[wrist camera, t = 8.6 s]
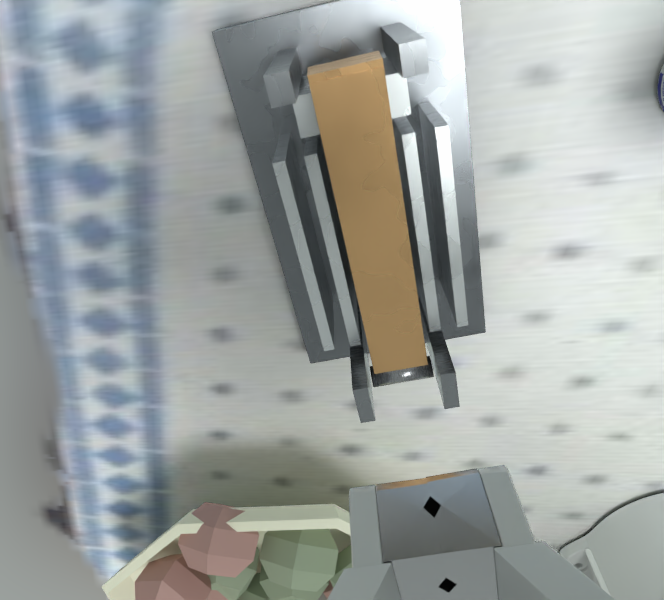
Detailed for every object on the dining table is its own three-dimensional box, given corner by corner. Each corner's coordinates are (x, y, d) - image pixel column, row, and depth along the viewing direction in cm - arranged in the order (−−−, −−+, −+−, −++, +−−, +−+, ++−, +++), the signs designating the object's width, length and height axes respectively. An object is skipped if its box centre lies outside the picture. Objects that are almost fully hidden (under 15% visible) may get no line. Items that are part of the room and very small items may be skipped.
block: (428, 359, 32) (434, 381, 30) (371, 369, 32) (374, 391, 30) (383, 49, 22) (388, 58, 21) (303, 68, 22) (302, 78, 21)
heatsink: (479, 319, 37) (522, 413, 29) (311, 350, 38) (307, 448, 30) (450, -28, 26) (505, -28, 18) (217, 29, 27) (174, 52, 20)
